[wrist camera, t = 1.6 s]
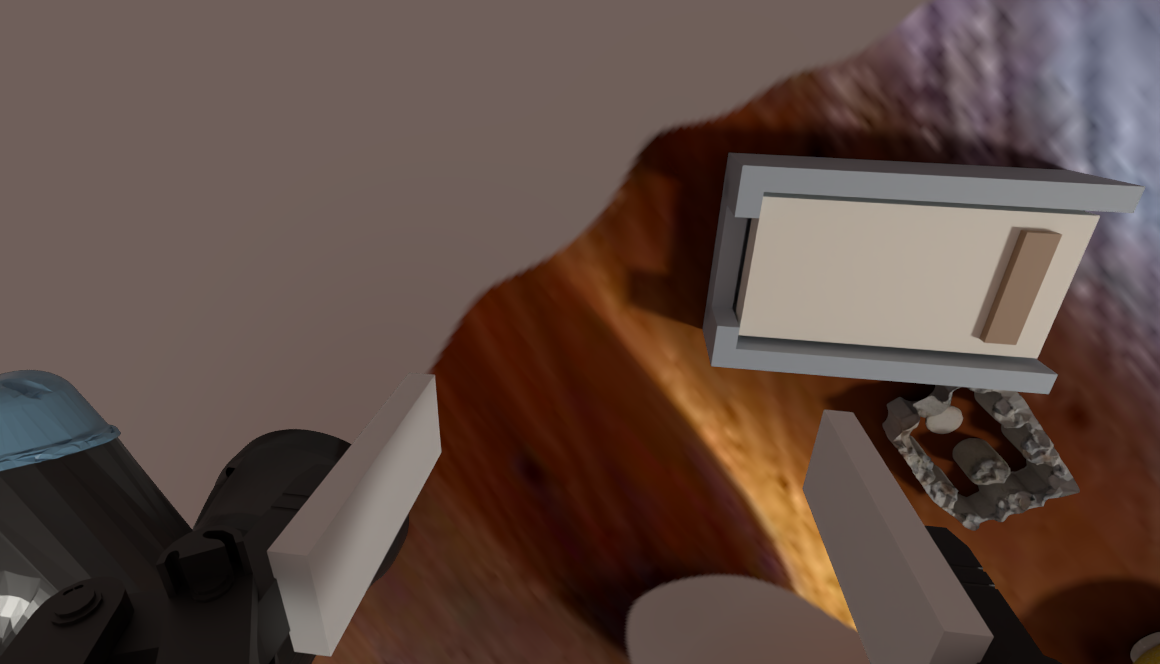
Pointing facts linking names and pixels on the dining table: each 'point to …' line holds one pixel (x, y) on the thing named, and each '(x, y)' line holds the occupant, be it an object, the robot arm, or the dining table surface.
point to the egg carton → (981, 456)
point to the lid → (909, 272)
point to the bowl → (1147, 650)
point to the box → (883, 182)
